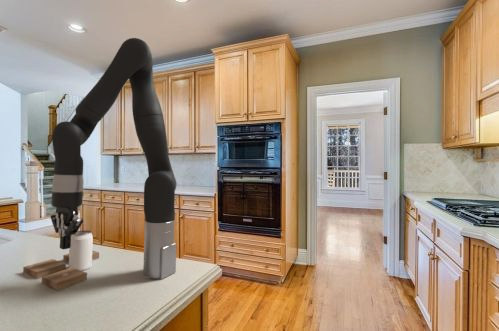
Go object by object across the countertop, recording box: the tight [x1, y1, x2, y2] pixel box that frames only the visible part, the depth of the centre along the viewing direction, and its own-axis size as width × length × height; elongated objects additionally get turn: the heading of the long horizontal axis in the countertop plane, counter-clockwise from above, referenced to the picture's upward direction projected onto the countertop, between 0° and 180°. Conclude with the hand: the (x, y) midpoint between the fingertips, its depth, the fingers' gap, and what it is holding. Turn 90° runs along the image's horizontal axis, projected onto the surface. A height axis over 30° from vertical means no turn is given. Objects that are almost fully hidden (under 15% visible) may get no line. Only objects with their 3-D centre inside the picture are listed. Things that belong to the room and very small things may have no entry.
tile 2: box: [22, 258, 67, 280], centre depth 82 cm, size 8×8×2 cm
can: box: [68, 230, 94, 272], centre depth 85 cm, size 6×6×12 cm
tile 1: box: [41, 267, 88, 291], centre depth 75 cm, size 8×8×2 cm
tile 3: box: [62, 250, 100, 263], centre depth 93 cm, size 8×8×2 cm
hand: (65, 248), depth 75 cm, fingers closed
